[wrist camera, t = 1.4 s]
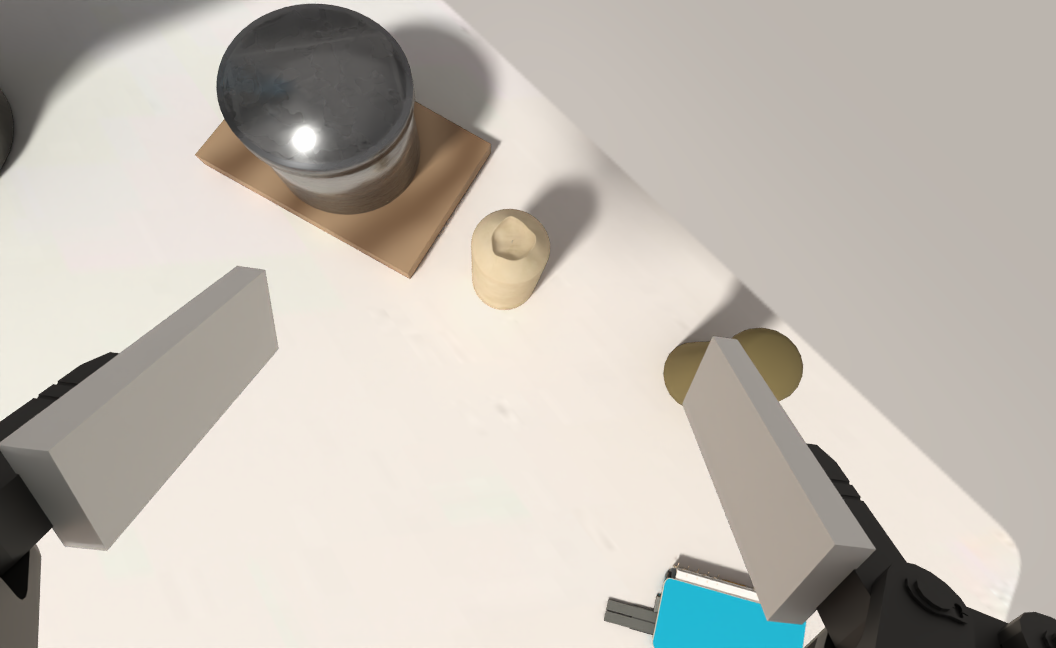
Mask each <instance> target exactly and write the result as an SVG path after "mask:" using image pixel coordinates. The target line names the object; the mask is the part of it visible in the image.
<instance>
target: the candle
mask: <svg viewBox="0 0 1056 648" xmlns="http://www.w3.org/2000/svg"><path fill="white" fill-rule="evenodd" d="M549 254H550V242H549V237H548V234H547V232H546V230H545V228H544V227H543V225H542V224H541V223H540V222H539V221H538V220H537V219H536V218H535V217H533V216H532V215H530V214H528V213H526V212H523V211H520V210H516V209H503V210H498V211H495V212H493V213H491V214H489V215H487V216H486V217H485V218H483V219H482V220H481V221H480V223H479V224H478V225H477V227H476V229H475V230H474V233H473V236H472V241H471V255H472V281H473V286H474V290H475V292H476V294H477V295H478V297H479V298H480V299H481V300H482V301H483V302H484V303H485V304H487V305H488V306H490V307H492V308H495V309H499V310H509V309H513V308H516V307H518V306H520V305H522V304H523V303H525V302H526V301H527V300H528V299H529V297H530V296H531V294H532V293H533V291H534V289H535V286H536V284H537V282H538V280H539V278H540V276H541V274H542V272H543V270H544V268H545V266H546V264H547V261H548V258H549Z"/></svg>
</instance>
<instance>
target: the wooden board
mask: <svg viewBox="0 0 1056 648" xmlns="http://www.w3.org/2000/svg"><path fill="white" fill-rule="evenodd" d="M413 113H414V117H415V122H416V127H417V132H418V136H419V141H420V161H419V165H418V169H417V171H416V174H415V176H414V178H413V180H412V181H411V183H410V184H409V186H408V187H407V188H406V190H405V191H404V192H403V193H402V194H401V195H400V196H399V197H397V198H396V199H395V200H393V201H392V202H391V203H389V204H387V205H385V206H383V207H381V208H379V209H376V210H374V211H370V212H367V213H362V214H355V215H342V214H333V213H328V212H325V211H322V210H319V209H316V208H314V207H312V206H310V205H308V204H306V203H305V202H303V201H302V200H300V199H299V198H298V197H297V196H296V195H294V194H293V193H292V191H291V190H290V189H289V188H288V187H287V186H286V185H285V183H284V182H283V181H282V180H281V179H280V178H279V176H278V175H277V174H276V173H275V172H274V170H273V169H272V168H271V167H270V166H269V165H268V164H266V163H265V162H263V161H262V160H260V159H259V158H257V157H256V156H255V155H254V154H253V153H251V152H250V151H249V150H248V149H247V147H246V146H245V145H244V144H243V143H242V142H241V141H240V140H239V138H238V137H237V136H236V135H235V134H234V133H233V132H232V130H231V129H230V127H229V126H228V124H227V122H226V121H225V119H224V120H223V122H222V123H221V124H220V125H219V126H218V128H217V129H216V130H215V131H214V132H213V134H212V135H211V136H210V137H209V139H208V140H207V141H206V142H205V143H204V145H203V146H202V147H201V148H200V149H199V151H198V152H197V153H196V154H195V155H196V156H197V157H198V158H199V159H200V160H201V161H202V162H203V163H204V164H206V165H207V166H209V167H211V168H213V169H214V170H216V171H218V172H220V173H222V174H223V175H225V176H227V177H229V178H231V179H232V180H234V181H236V182H238V183H239V184H241V185H243V186H245V187H247V188H248V189H250V190H252V191H254V192H256V193H257V194H259V195H261V196H263V197H264V198H266V199H268V200H270V201H272V202H273V203H275V204H277V205H279V206H281V207H282V208H284V209H286V210H288V211H289V212H291V213H293V214H295V215H297V216H298V217H300V218H302V219H304V220H306V221H307V222H309V223H311V224H313V225H314V226H316V227H318V228H320V229H322V230H323V231H325V232H327V233H329V234H331V235H332V236H334V237H336V238H338V239H339V240H341V241H343V242H345V243H347V244H348V245H350V246H352V247H354V248H356V249H357V250H359V251H361V252H363V253H364V254H366V255H368V256H370V257H372V258H373V259H375V260H377V261H379V262H381V263H382V264H384V265H386V266H388V267H389V268H391V269H393V270H395V271H397V272H398V273H400V274H402V275H404V276H406V277H407V278H409V279H410V278H411V277H412V275H413V273H414V272H415V270H416V269H417V267H418V266H419V264H420V263H421V261H422V259H423V258H424V256H425V255H426V253H427V252H428V250H429V249H430V247H431V245H432V244H433V242H434V241H435V239H436V238H437V236H438V234H439V233H440V231H441V230H442V228H443V227H444V225H445V224H446V222H447V220H448V219H449V217H450V216H451V214H452V213H453V211H454V210H455V208H456V206H457V205H458V203H459V202H460V200H461V199H462V197H463V195H464V194H465V192H466V191H467V189H468V188H469V186H470V185H471V183H472V181H473V180H474V178H475V177H476V175H477V174H478V172H479V171H480V169H481V167H482V166H483V164H484V163H485V161H486V160H487V158H488V157H489V155H490V153H491V144H490V143H488V142H486V141H485V140H483V139H481V138H479V137H478V136H476V135H474V134H472V133H470V132H469V131H467V130H465V129H463V128H462V127H460V126H458V125H456V124H454V123H453V122H451V121H449V120H447V119H446V118H444V117H442V116H440V115H438V114H437V113H435V112H433V111H431V110H430V109H428V108H426V107H424V106H422V105H421V104H419V103H417V102H415V103H414V111H413Z"/></svg>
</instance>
